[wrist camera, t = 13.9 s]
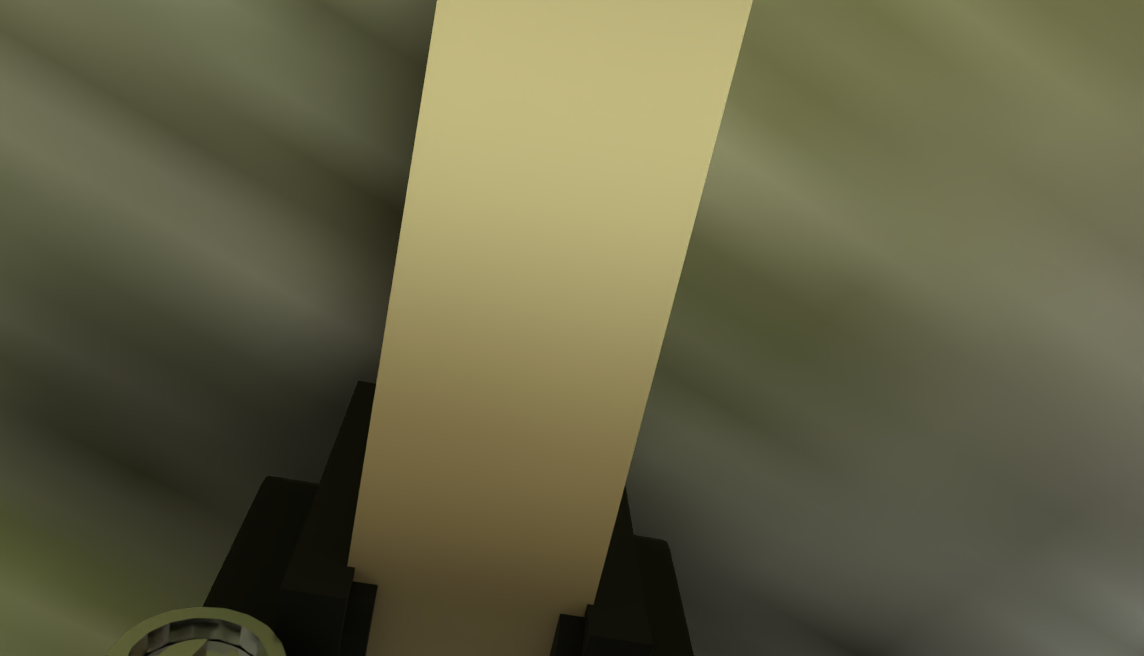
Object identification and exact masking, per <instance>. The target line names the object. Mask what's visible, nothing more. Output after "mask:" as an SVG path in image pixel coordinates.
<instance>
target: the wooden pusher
mask: <svg viewBox="0 0 1144 656" xmlns="http://www.w3.org/2000/svg"><path fill="white" fill-rule="evenodd" d="M752 2H753V0H437V5H436V11H435V17H434V23H433V30H432V36H431V42H430V49H429V55H428V61H427V68H426V74H425V80H424V86H423V93H422V99H421V105H420V112H419V118H418V124H417V130H416V137H415V143H414V149H413V156H412V162H411V168H410V175H409V181H408V187H407V193H406V200H405V206H404V212H403V219H402V225H401V231H400V237H399V244H398V250H397V256H396V263H395V269H394V275H393V282H392V288H391V294H390V300H389V307H388V313H387V319H386V326H385V332H384V338H383V345H382V351H381V357H380V363H379V370H378V376H377V382H376V389H375V395H374V401H373V407H372V414H371V420H370V426H369V433H368V439H367V445H366V452H365V458H364V464H363V470H362V477H361V483H360V489H359V496H358V502H357V508H356V515H355V521H354V527H353V533H352V540H351V546H350V552H349V559H348V565H347V566H349V567H355V572H354V578H353V581H355V582H362V583H368V584H375V585H378V588H377V594H376V599H375V605H374V611H373V617H372V623H371V628H370V634H369V640H368V646H367V651H366V656H549V655H550V651H551V647H552V643H553V639H554V635H555V631H556V628H557V624H558V620H559V616H560V614H567V615H573V616H580V617H585V611H586V607H587V604H591V605H593V604H594V600H595V596H596V593H597V589H598V585H599V581H600V578H601V574H602V570H603V566H604V562H605V559H606V555H607V551H608V547H609V543H610V540H611V536H612V532H613V528H614V525H615V521H616V517H617V513H618V509H619V506H620V502H621V498H622V494H623V490H624V487H625V483H626V479H627V475H628V472H629V468H630V464H631V460H632V456H633V453H634V449H635V445H636V441H637V437H638V434H639V430H640V426H641V422H642V419H643V415H644V411H645V407H646V403H647V400H648V396H649V392H650V388H651V384H652V381H653V377H654V373H655V369H656V366H657V362H658V358H659V354H660V350H661V347H662V343H663V339H664V335H665V331H666V328H667V324H668V320H669V316H670V313H671V309H672V305H673V301H674V297H675V294H676V290H677V286H678V282H679V278H680V275H681V271H682V267H683V263H684V260H685V256H686V252H687V248H688V244H689V241H690V237H691V233H692V229H693V225H694V222H695V218H696V214H697V210H698V207H699V203H700V199H701V195H702V191H703V188H704V184H705V180H706V176H707V172H708V169H709V165H710V161H711V157H712V154H713V150H714V146H715V142H716V138H717V135H718V131H719V127H720V123H721V119H722V116H723V112H724V108H725V104H726V101H727V97H728V93H729V89H730V85H731V82H732V78H733V74H734V70H735V66H736V63H737V59H738V55H739V51H740V48H741V44H742V40H743V36H744V32H745V29H746V25H747V21H748V17H749V13H750V10H751V6H752Z"/></svg>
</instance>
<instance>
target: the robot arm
mask: <svg viewBox="0 0 1144 656" xmlns="http://www.w3.org/2000/svg"><path fill="white" fill-rule="evenodd" d="M375 389H376V384H375V383H369V382H363V381H358V383H357V386H356V389H355V391H354V394H353V397H352V399H351V402H350V404H349V407H348V410H347V412H346V415H345V418H344V420H343V423H342V426H341V428H340V431H339V434H338V436H337V439H336V442H335V444H334V447H333V449H332V452H331V455H330V457H329V460H328V463H327V465H326V468H325V471H324V473H323V476H322V479H321V481H320V484H316V483H310V482H304V481H297V480H291V479H285V478H279V477H273V476H268V477H266V478H265V480H264V481H263V483H262V485H261V487H260V489H259V491H258V493H257V495H256V497H255V499H254V501H253V503H252V505H251V507H250V509H249V511H248V514H247V516H246V518H245V520H244V522H243V524H242V526H241V528H240V530H239V532H238V534H237V536H236V538H235V541H234V543H233V545H232V547H231V549H230V551H229V553H228V555H227V557H226V559H225V561H224V563H223V565H222V568H221V570H220V572H219V574H218V576H217V578H216V580H215V582H214V584H213V586H212V588H211V590H210V592H209V595H208V597H207V599H206V601H205V603H204V605H203V607H192V608H184V609H176V610H171V611H168V612H165V613H162V614H159V615H156V616H153V617H150V618H147V619H145V620H144V621H142V622H141V623H139V624H137V625H136V626H134V627H133V628H131V629H129V630H128V631H126V632H125V633H124V634H123V635H122V636H121V637H120V639H119V640H118V641H117V642H116V643H115V644H114V645H113V646H112V647H111V649H110V650H109V652H108V653H107V655H106V656H366V651H367V646H368V640H369V634H370V628H371V623H372V617H373V611H374V605H375V599H376V594H377V588H378V585H375V584H368V583H362V582H355V581H353V578H354V572H355V567H349V566H347V565H348V559H349V552H350V546H351V540H352V533H353V527H354V521H355V515H356V508H357V502H358V496H359V489H360V483H361V477H362V470H363V464H364V458H365V452H366V445H367V439H368V433H369V426H370V420H371V414H372V407H373V401H374V395H375ZM549 656H694V655H693V650H692V646H691V641H690V637H689V632H688V628H687V624H686V619H685V615H684V610H683V606H682V601H681V597H680V592H679V588H678V583H677V579H676V574H675V570H674V566H673V561H672V557H671V552H670V549H669V546H668V543H667V542H666V541H664V540H661V539H654V538H648V537H642V536H636V535H634V534H633V528H632V522H631V517H630V511H629V505H628V499H627V493H626V487H624V490H623V494H622V498H621V502H620V506H619V509H618V513H617V517H616V521H615V525H614V528H613V532H612V536H611V540H610V543H609V547H608V551H607V555H606V559H605V562H604V566H603V570H602V574H601V578H600V581H599V585H598V589H597V593H596V596H595V600H594V604H593V605H591V604H587V607H586V611H585V617H580V616H573V615H567V614H560V616H559V620H558V624H557V628H556V631H555V635H554V639H553V643H552V647H551V651H550V655H549Z"/></svg>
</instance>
